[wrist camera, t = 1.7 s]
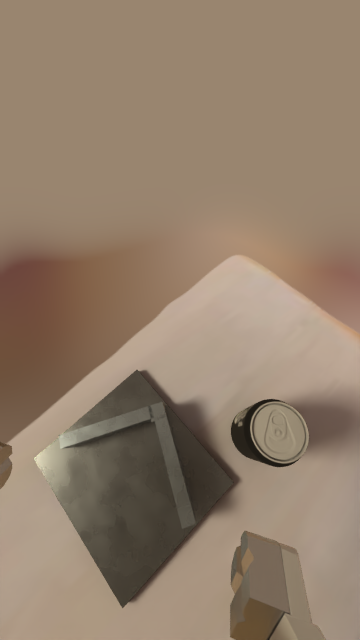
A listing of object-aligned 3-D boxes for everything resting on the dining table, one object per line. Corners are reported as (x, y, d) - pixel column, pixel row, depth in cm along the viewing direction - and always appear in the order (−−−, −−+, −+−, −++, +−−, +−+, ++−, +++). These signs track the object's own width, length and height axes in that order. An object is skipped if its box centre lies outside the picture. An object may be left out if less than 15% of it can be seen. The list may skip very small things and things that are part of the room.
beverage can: (230, 457, 36) (247, 466, 25) (229, 407, 39) (245, 395, 28) (279, 460, 36) (318, 470, 25) (275, 410, 39) (308, 398, 28)
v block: (125, 602, 31) (113, 632, 26) (38, 458, 37) (16, 461, 32) (232, 481, 35) (239, 487, 30) (138, 371, 42) (131, 362, 37)
